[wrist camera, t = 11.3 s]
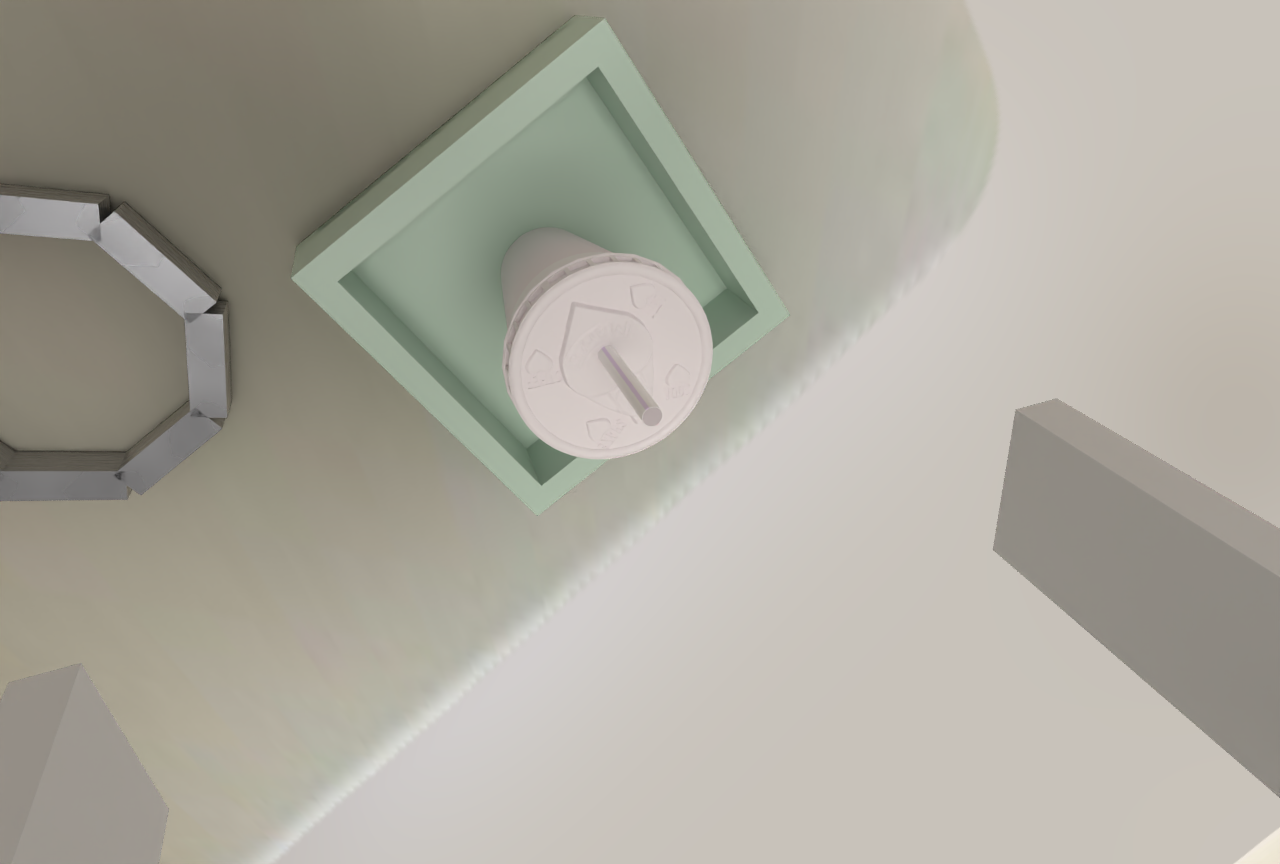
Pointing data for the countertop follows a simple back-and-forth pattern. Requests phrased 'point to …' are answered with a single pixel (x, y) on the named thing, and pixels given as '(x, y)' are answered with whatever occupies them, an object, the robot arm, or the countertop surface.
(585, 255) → the smoothie
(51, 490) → the collar
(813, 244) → the countertop surface
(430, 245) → the bin
